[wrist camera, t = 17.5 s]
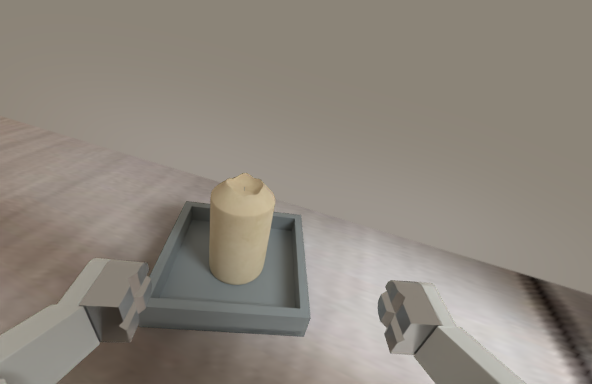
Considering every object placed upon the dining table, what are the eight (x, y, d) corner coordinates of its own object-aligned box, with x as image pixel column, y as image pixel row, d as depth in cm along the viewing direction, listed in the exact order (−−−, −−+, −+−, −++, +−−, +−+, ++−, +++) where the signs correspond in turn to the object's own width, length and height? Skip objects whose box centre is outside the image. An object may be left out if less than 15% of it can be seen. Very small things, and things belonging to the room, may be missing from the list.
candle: (204, 285, 26) (206, 198, 20) (212, 243, 30) (215, 162, 25) (264, 286, 27) (279, 204, 22) (263, 245, 31) (276, 169, 26)
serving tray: (296, 231, 36) (300, 215, 34) (303, 336, 24) (310, 318, 23) (186, 219, 34) (186, 201, 32) (139, 326, 23) (135, 305, 21)
